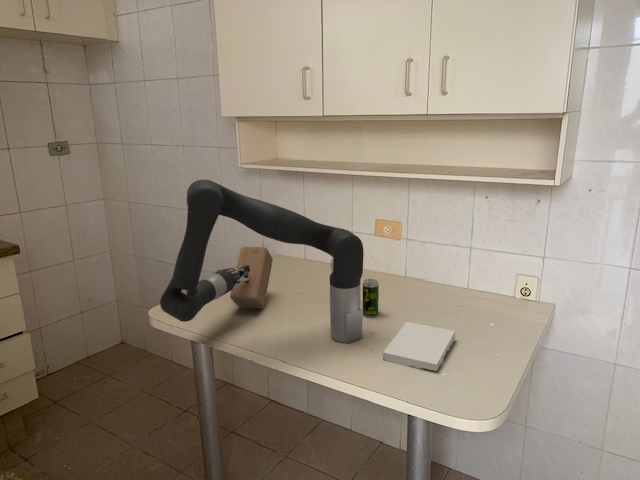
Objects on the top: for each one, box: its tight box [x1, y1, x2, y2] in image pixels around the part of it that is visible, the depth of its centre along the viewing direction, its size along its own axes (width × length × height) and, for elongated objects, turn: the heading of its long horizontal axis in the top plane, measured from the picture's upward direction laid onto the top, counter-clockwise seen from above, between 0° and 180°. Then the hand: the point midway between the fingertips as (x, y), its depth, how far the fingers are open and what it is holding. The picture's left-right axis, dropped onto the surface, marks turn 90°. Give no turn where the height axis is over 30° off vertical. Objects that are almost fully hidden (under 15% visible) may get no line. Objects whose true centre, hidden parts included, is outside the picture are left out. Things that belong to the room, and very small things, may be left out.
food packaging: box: [382, 321, 456, 372], centre depth 134 cm, size 15×3×20 cm
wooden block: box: [229, 246, 274, 309], centre depth 165 cm, size 10×10×20 cm
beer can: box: [362, 278, 380, 319], centre depth 156 cm, size 5×5×12 cm
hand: (247, 268), depth 159 cm, fingers closed
